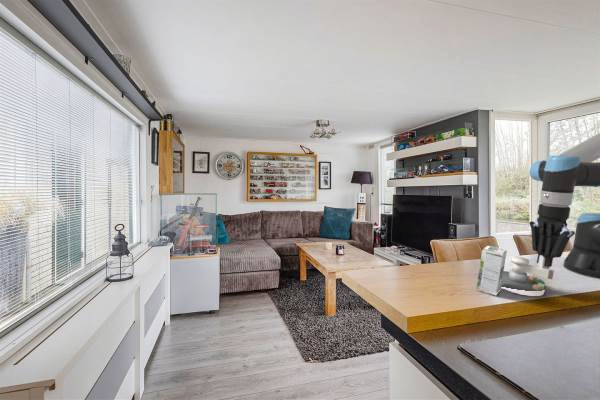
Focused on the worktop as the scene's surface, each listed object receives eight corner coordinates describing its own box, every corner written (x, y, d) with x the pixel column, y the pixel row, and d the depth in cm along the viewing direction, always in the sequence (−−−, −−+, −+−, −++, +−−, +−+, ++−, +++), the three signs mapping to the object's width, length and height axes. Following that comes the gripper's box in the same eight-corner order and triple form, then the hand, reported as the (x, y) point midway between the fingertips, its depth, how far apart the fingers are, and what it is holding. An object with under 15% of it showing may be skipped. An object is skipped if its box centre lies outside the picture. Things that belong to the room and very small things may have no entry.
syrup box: (480, 285, 96) (485, 244, 94) (501, 291, 92) (507, 249, 90) (475, 290, 92) (481, 248, 90) (497, 297, 88) (503, 253, 86)
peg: (508, 271, 96) (510, 258, 95) (511, 267, 99) (513, 255, 98) (551, 282, 88) (553, 269, 87) (552, 277, 91) (555, 265, 90)
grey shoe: (517, 275, 105) (519, 263, 104) (557, 295, 90) (560, 281, 89) (480, 276, 103) (481, 264, 102) (515, 297, 88) (517, 283, 87)
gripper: (525, 201, 95) (515, 266, 99) (565, 209, 82) (551, 284, 86) (545, 201, 96) (534, 266, 100) (587, 208, 83) (573, 283, 87)
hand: (542, 274), depth 93 cm, fingers closed
